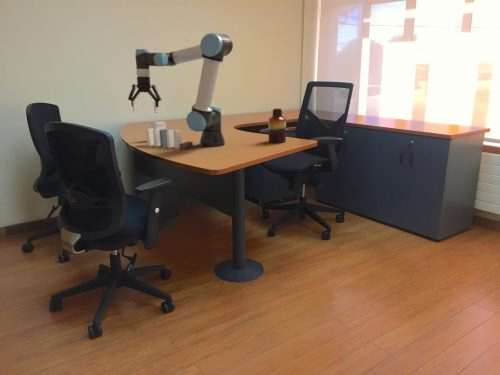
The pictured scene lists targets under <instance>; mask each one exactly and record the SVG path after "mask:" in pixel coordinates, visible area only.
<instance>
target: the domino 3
mask: <svg viewBox="0 0 500 375" xmlns="http://www.w3.org/2000/svg"><path fill="white" fill-rule="evenodd" d="M167 130H168V129H167V128H166V129H163V130H160V143H161V145H160V147H161V148H165V147H168V146H167V132H166V131H167Z"/></svg>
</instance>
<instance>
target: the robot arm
mask: <svg viewBox="0 0 500 375" xmlns="http://www.w3.org/2000/svg"><path fill="white" fill-rule="evenodd" d="M233 47H234V43H233V39H232V38H231V37H230V36H229V35H227V34H224V33H217V32H211V33H210V32H209V33H207V34H205V35H204V36H203V37H202V38H201V40H200V43H199V44H198V45H194V46H190V47H185V48H182V49H178V50H174V51H172V52H170V51H169V52H149V49H147V48H136V49H135V64H136V82H137V83H136V84H135V83H133V84H131V90H130V93H129V95H128V97H127V100H128V101H130V102H131V104H130V105H131V107H132V110H133V111H132V113H136V112H137V104H136V102H137V101H136V99H137V97H138V96H139V95H140V93H148V95H149V96H150V97H151V98H152V99H153V100H154V102H153V106H154V108H153V109H154V113H155V114H156V113H158V108H159V102H160V101H162V98H161V95H160V94H159V92H158V89H157V86H156V85H155V84H151V77H150V75H151V74H150V72H151V71H150V67H174V66H176V65H179V64H184V63H188V62H192V61H193V62H194V61H197V60H203V64H202V69H201V73H200V80H199V84H198V88H197V95H196V99H195V100H196V101H195V103H194V104H193V105H191V106H192V107H191V111H190V112H189V113H188V114H187V116H186V125H187V126H188V128H189V129H190V130H191V131H193V132H202V133H201V136H200V140H199V144H200V146H202V147H210V148H211V147H212V148H213V147H215V148H216V147H221V146H225V145H226V140H225V137H224V136H223V132H222V111H221V108H220V107H219V106H212V100H213V97H214V93H215V92H214V91H215V86H216V82H217V77H218V73H219V72H218V71H219V68H220V64H222V63H223V61H224V57H226V56H228V55H230V54H231V53H232V50H233ZM136 89H137V91H136ZM151 89H152V90H151ZM152 91H153V92H152Z"/></svg>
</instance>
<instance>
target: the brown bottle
mask: <svg viewBox="0 0 500 375" xmlns="http://www.w3.org/2000/svg"><path fill="white" fill-rule="evenodd" d="M268 142H269V143H270V142H271V144H283V143H286V142H287V118H286V117H284V116H283V109H282V108H272V116H271V117H269V118H268Z"/></svg>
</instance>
